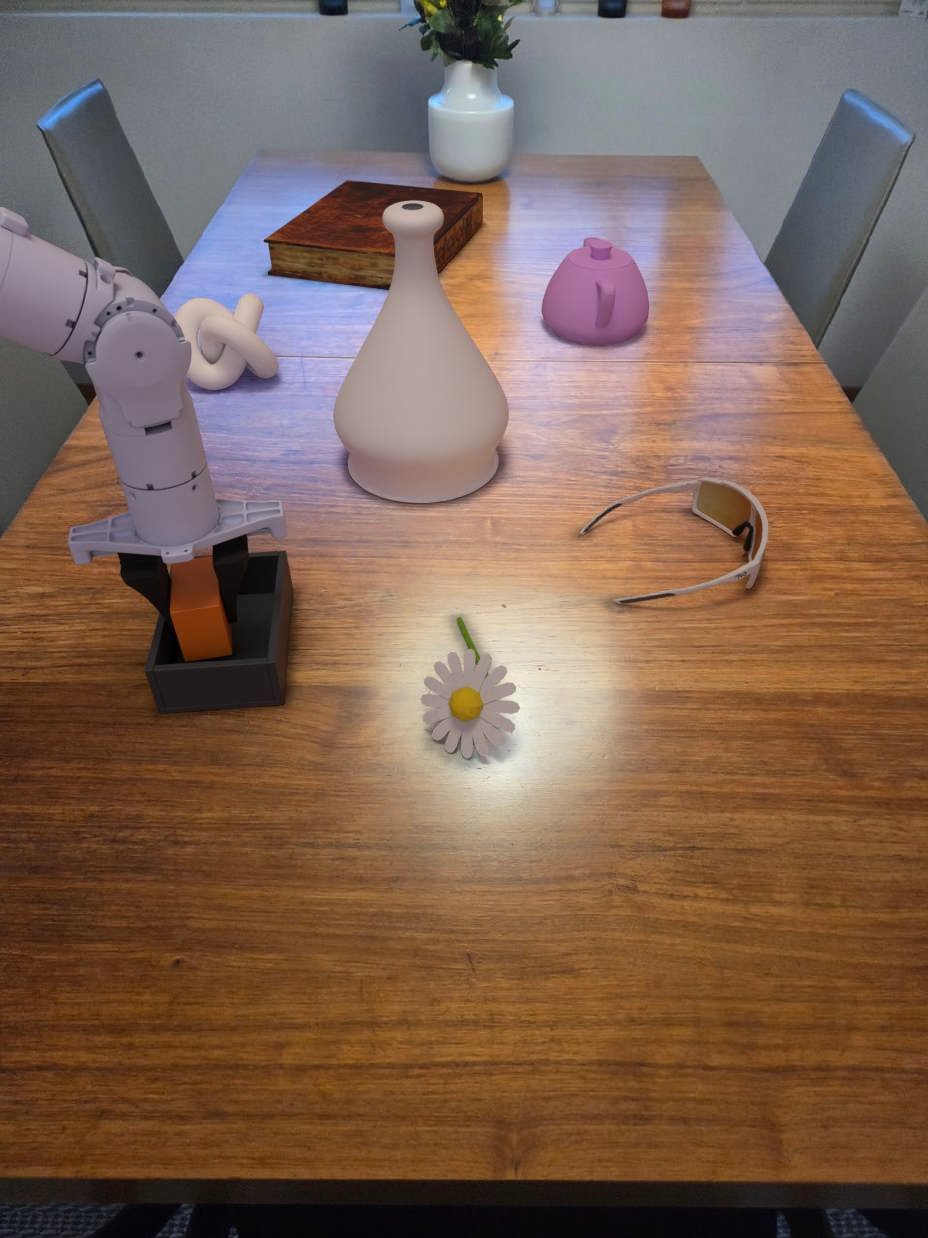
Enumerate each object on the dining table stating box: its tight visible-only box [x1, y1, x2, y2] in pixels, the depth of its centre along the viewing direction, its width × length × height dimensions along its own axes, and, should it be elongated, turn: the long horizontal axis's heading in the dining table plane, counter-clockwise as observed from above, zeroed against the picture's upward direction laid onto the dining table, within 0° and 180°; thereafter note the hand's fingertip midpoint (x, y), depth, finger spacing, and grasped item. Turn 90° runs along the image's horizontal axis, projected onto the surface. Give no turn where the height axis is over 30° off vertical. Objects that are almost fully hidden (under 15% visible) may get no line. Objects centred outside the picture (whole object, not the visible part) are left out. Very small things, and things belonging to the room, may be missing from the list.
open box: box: [144, 550, 294, 714], centre depth 69 cm, size 9×13×4 cm
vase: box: [332, 201, 510, 504], centre depth 82 cm, size 17×17×25 cm
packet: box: [170, 557, 232, 662], centre depth 66 cm, size 4×6×5 cm, turn 13°
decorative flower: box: [420, 616, 521, 759], centre depth 65 cm, size 8×6×15 cm
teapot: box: [541, 236, 650, 346], centre depth 112 cm, size 14×20×11 cm
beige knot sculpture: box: [173, 292, 279, 391], centre depth 102 cm, size 11×12×9 cm
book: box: [263, 179, 484, 291], centre depth 135 cm, size 30×24×5 cm
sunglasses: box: [578, 476, 770, 605], centre depth 78 cm, size 14×15×5 cm
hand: (204, 618), depth 67 cm, fingers closed on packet, 3 cm apart
